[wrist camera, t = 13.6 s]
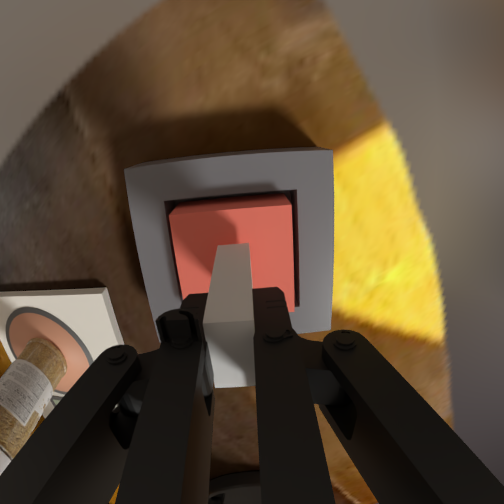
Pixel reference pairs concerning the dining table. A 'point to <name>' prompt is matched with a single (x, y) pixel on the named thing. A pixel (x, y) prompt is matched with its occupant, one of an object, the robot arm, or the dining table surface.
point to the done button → (235, 240)
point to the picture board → (60, 328)
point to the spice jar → (27, 394)
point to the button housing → (235, 185)
